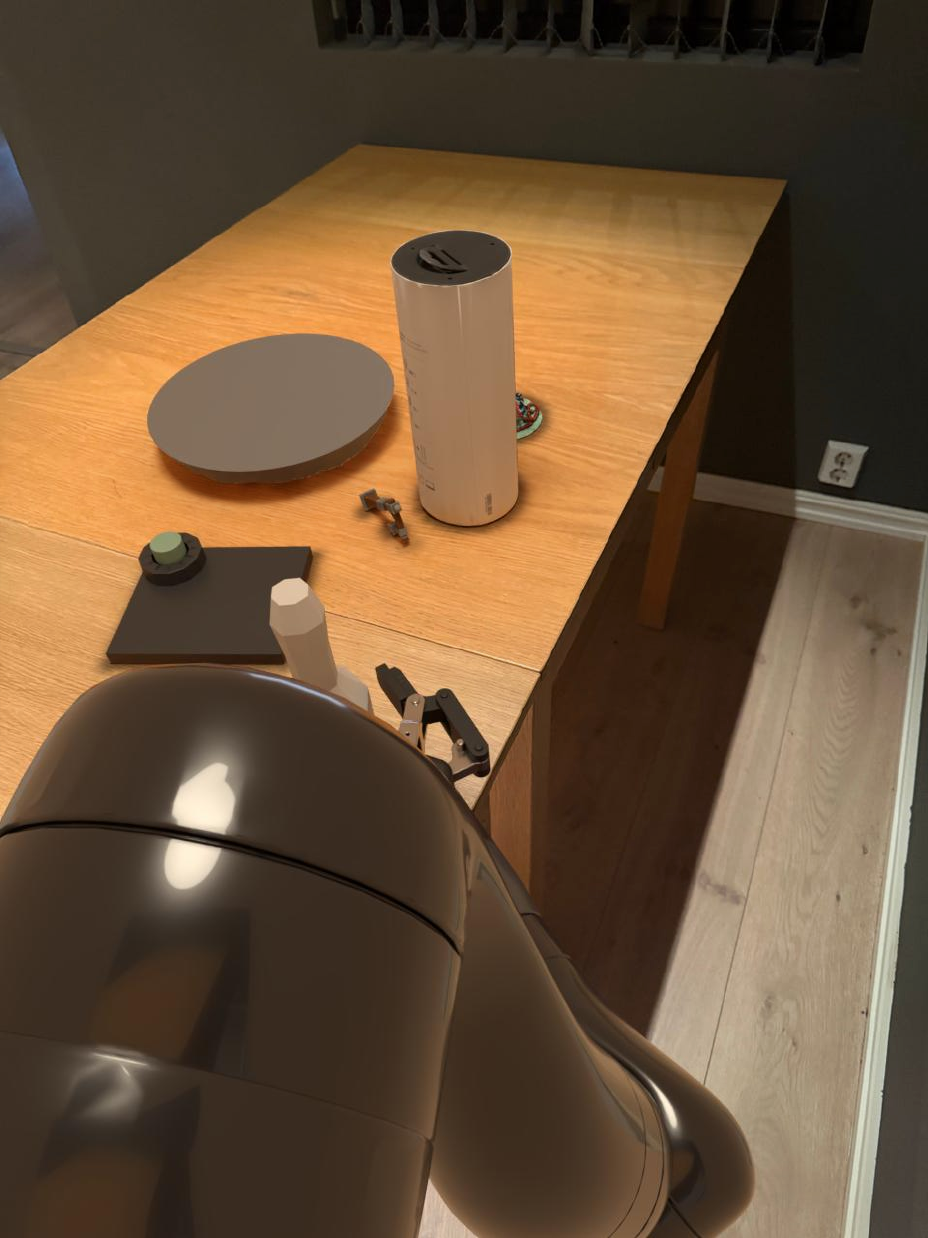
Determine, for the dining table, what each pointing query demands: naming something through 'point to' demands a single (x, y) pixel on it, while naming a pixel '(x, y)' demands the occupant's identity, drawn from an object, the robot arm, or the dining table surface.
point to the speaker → (459, 371)
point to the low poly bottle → (311, 642)
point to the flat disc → (272, 408)
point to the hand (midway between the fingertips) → (324, 700)
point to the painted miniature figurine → (526, 416)
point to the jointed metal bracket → (372, 500)
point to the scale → (206, 606)
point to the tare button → (168, 548)
